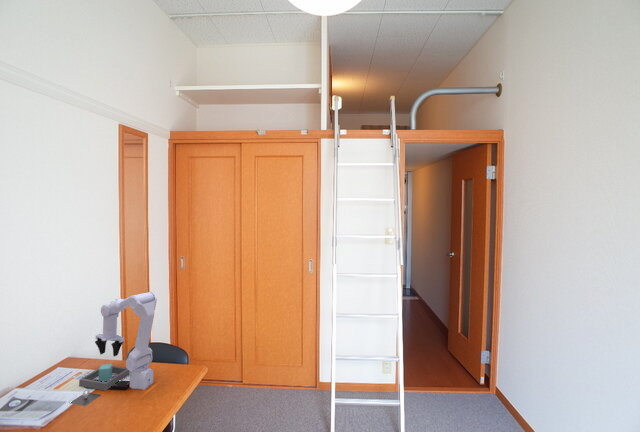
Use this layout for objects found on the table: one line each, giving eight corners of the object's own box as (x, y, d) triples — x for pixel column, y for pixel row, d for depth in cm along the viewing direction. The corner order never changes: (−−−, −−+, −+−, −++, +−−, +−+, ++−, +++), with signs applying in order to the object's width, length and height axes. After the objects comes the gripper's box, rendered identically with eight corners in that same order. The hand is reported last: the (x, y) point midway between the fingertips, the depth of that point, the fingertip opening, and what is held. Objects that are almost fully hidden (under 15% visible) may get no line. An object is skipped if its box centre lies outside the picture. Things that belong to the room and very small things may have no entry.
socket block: (111, 377, 152) (112, 363, 152) (109, 382, 148) (109, 368, 147) (101, 379, 150) (101, 364, 150) (98, 384, 146) (98, 369, 146)
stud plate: (101, 397, 138) (102, 387, 138) (85, 408, 130) (85, 398, 130) (86, 394, 139) (86, 384, 139) (68, 405, 131) (69, 395, 131)
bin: (129, 376, 155) (129, 368, 155) (105, 392, 141) (105, 384, 141) (105, 372, 157) (105, 364, 157) (79, 388, 143) (79, 379, 143)
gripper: (90, 328, 154) (89, 356, 154) (116, 332, 151) (115, 360, 151) (102, 323, 160) (101, 349, 161) (127, 327, 158) (126, 353, 158)
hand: (109, 354), depth 157 cm, fingers open, 7 cm apart
